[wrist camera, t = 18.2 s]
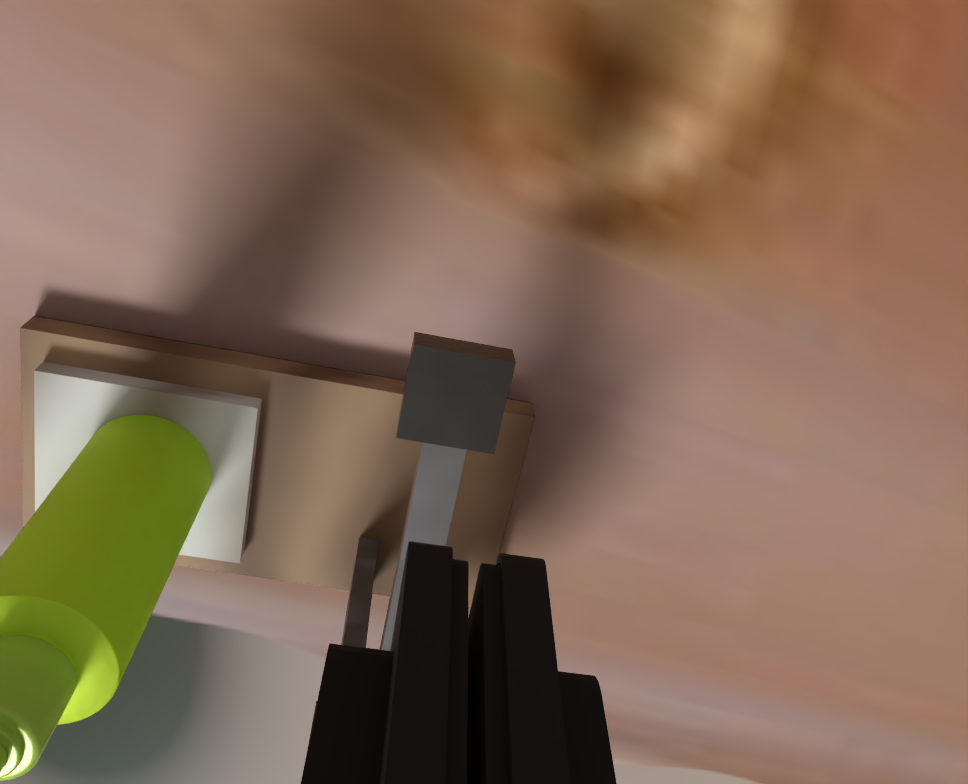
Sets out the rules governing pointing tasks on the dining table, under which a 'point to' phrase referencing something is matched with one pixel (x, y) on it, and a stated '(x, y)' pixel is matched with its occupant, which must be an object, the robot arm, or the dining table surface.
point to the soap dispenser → (91, 577)
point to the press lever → (445, 433)
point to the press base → (265, 455)
